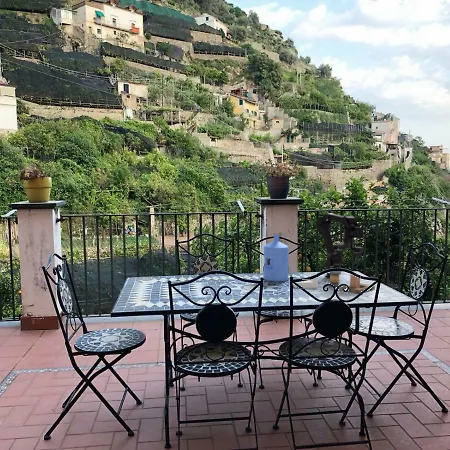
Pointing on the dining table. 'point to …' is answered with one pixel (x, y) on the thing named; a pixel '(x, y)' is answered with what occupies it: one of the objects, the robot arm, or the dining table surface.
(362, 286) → the notched board
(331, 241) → the robot arm
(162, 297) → the dining table surface
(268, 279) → the water jug
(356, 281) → the salmon orange block
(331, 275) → the bobbin
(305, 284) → the bracket
